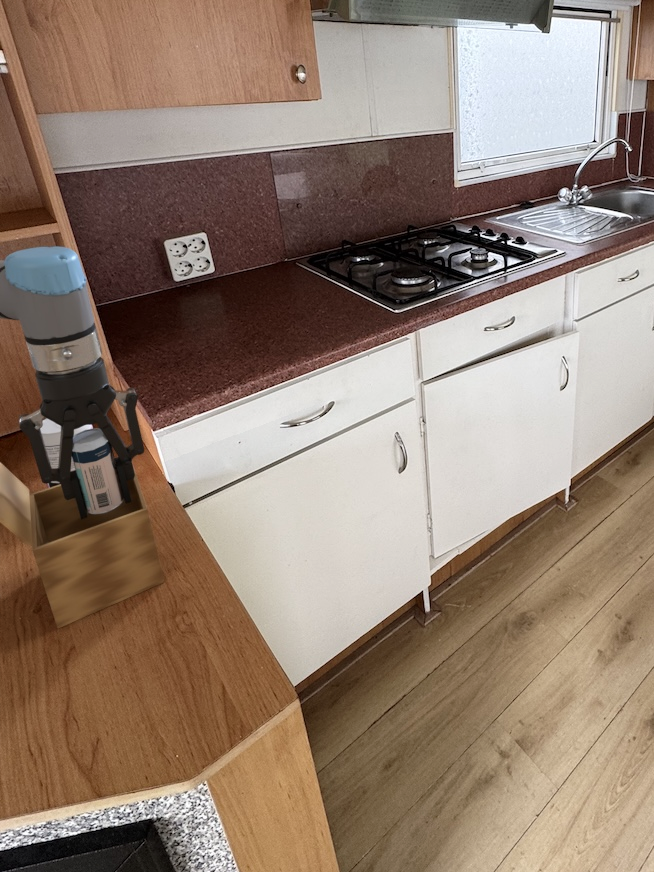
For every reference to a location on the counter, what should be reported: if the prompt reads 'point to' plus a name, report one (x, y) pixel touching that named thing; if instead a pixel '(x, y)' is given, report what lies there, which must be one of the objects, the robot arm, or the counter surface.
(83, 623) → the counter surface
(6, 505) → the flap
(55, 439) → the supplement can
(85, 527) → the open box
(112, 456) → the beer can
